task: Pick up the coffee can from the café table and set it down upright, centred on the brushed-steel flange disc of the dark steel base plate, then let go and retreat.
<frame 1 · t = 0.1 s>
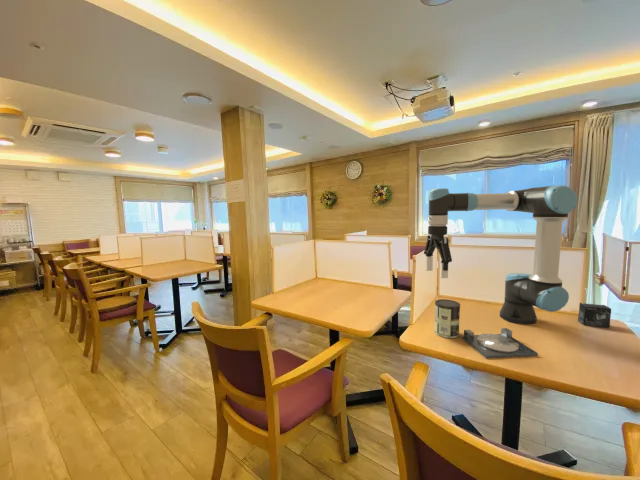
hand: (436, 274, 117), 28 cm above the table, fingers open, 13 cm apart
coffee can: (446, 333, 122), on the table
box: (593, 325, 127), on the table
flange plate: (497, 346, 109), on the table
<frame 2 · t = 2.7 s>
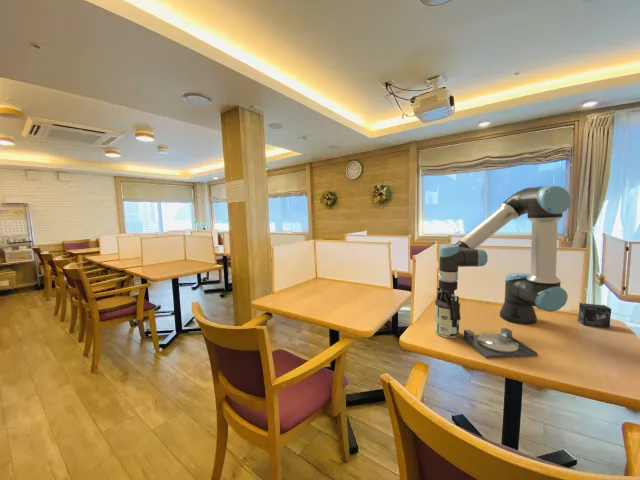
hand: (446, 328, 122), 2 cm above the table, fingers closed on coffee can, 10 cm apart
coffee can: (446, 333, 122), on the table, touching gripper
everything else where it was.
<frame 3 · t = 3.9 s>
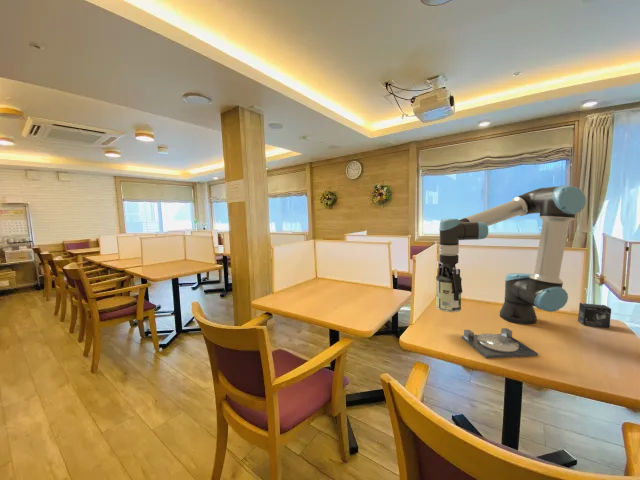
hand: (448, 303, 120), 14 cm above the table, fingers closed on coffee can, 10 cm apart
coffee can: (448, 308, 121), point 11 cm above the table, touching gripper
everything else where it was.
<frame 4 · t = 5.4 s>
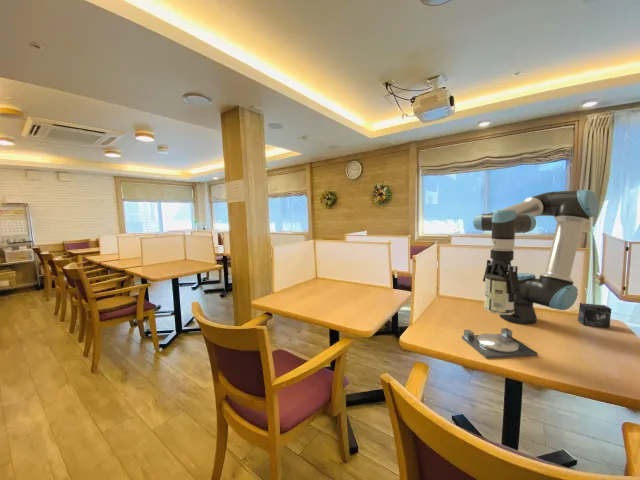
hand: (499, 304, 107), 18 cm above the table, fingers closed on coffee can, 10 cm apart
coffee can: (498, 310, 108), point 15 cm above the table, touching gripper
everything else where it was.
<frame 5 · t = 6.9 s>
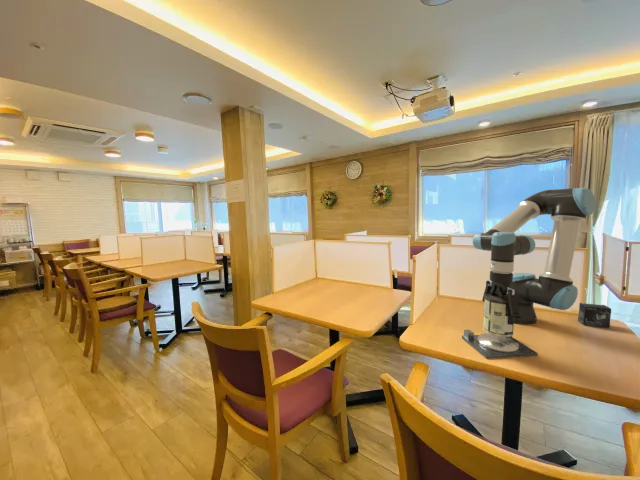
hand: (498, 325, 108), 9 cm above the table, fingers closed on coffee can, 10 cm apart
coffee can: (497, 331, 109), point 6 cm above the table, touching gripper
everything else where it was.
when the fingers open (6 cm above the table, at t = 8.1 s): coffee can drops 1 cm, resting on flange plate.
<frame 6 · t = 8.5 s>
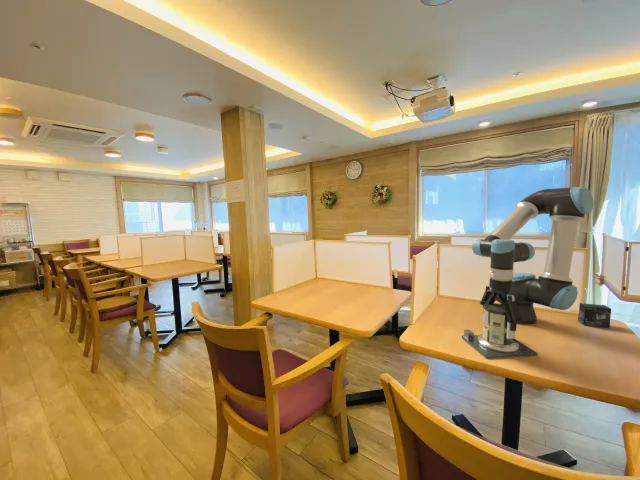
hand: (498, 330, 108), 7 cm above the table, fingers open, 13 cm apart
coffee can: (496, 341, 109), point 2 cm above the table, touching flange plate
everything else where it was.
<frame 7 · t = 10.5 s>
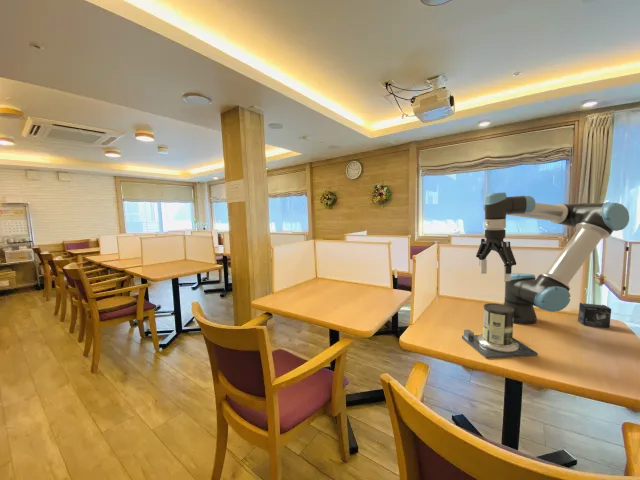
hand: (494, 277, 118), 26 cm above the table, fingers open, 13 cm apart
nothing on the table moved.
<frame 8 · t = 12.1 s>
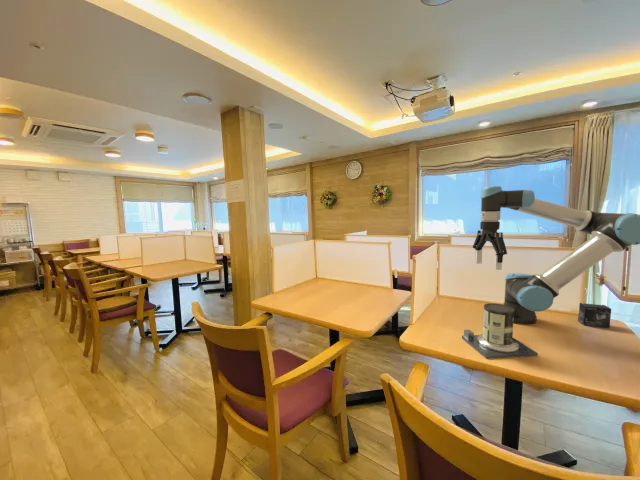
hand: (487, 266, 126), 29 cm above the table, fingers open, 13 cm apart
nothing on the table moved.
at the end: coffee can inside the target area on the flange plate (0.3 cm from its centre), point 2.0 cm above the flange plate's base; coffee can tilted 0°; the gripper is holding nothing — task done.
